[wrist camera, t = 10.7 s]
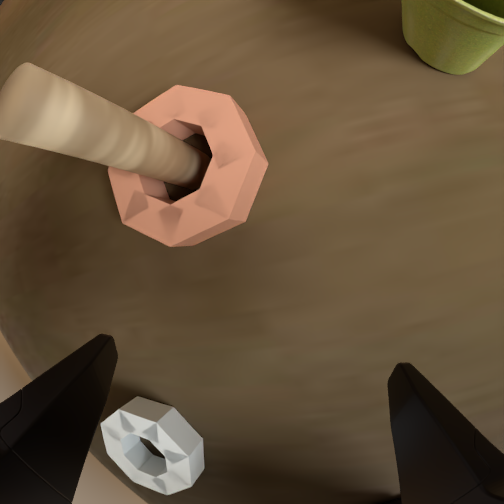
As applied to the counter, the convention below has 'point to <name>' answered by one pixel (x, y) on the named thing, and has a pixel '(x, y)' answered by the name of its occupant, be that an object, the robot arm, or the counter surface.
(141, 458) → the bead
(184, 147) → the dowel
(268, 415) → the counter surface
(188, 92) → the bead ring
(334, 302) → the counter surface
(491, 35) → the plant pot
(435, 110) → the counter surface
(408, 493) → the robot arm
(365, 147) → the counter surface
